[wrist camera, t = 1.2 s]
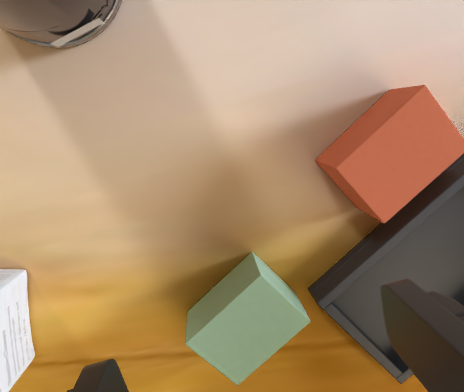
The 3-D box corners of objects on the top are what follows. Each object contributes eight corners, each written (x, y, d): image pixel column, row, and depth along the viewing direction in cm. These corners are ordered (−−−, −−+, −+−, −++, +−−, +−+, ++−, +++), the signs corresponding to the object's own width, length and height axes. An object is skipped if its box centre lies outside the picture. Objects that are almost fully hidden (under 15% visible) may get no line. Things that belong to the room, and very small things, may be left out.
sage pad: (187, 311, 27) (184, 344, 23) (252, 251, 26) (260, 274, 22) (232, 348, 28) (237, 386, 24) (295, 292, 28) (311, 321, 24)
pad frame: (307, 288, 27) (316, 303, 25) (482, 132, 25) (508, 134, 23) (386, 364, 30) (401, 384, 28) (549, 229, 28) (579, 239, 26)
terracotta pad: (314, 160, 25) (335, 168, 21) (389, 89, 24) (425, 84, 20) (357, 208, 26) (384, 224, 22) (429, 142, 25) (471, 147, 21)
